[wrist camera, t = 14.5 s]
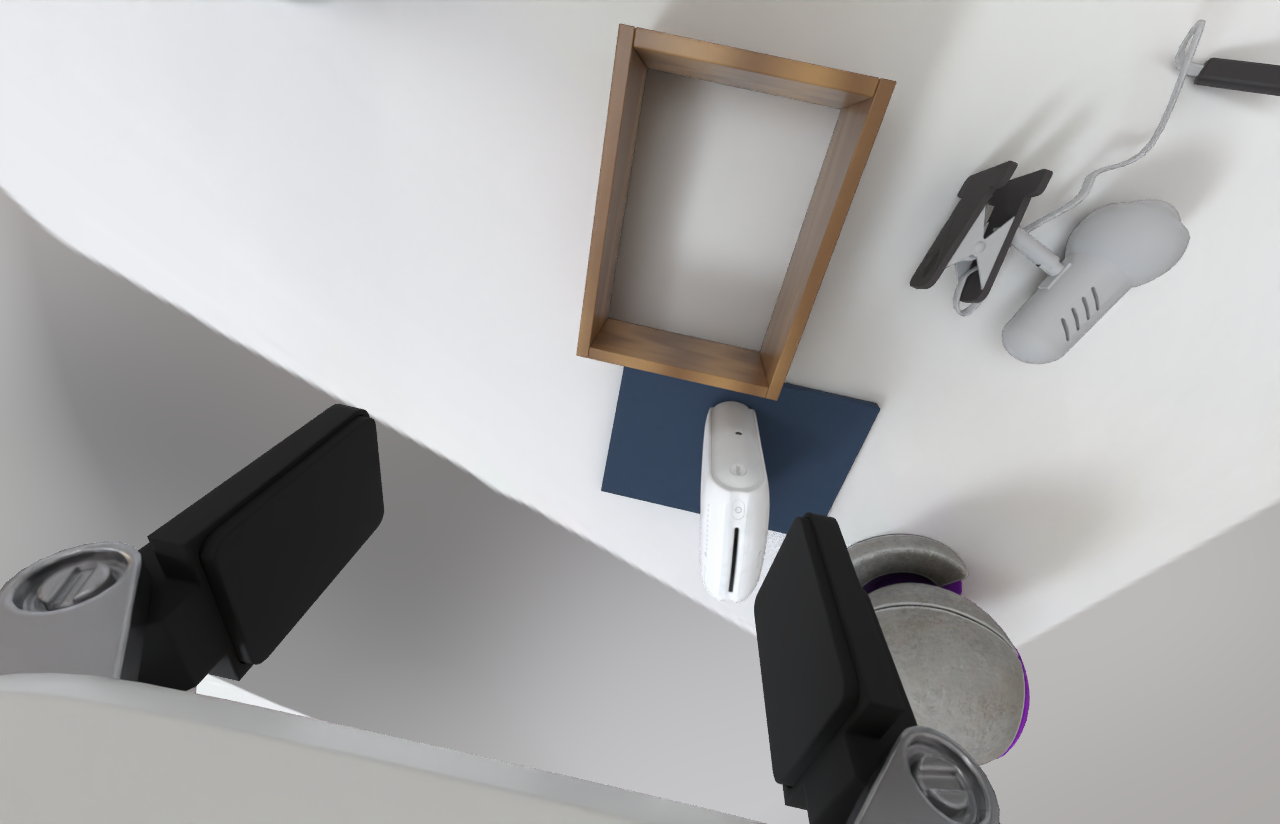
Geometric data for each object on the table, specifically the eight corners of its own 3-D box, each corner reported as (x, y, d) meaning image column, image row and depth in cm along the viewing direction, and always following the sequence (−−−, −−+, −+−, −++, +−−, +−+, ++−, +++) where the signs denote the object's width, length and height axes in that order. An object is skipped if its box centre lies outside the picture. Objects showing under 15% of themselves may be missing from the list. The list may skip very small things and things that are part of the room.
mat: (603, 484, 44) (600, 491, 44) (628, 347, 38) (626, 351, 37) (812, 533, 44) (814, 540, 43) (876, 403, 37) (881, 408, 36)
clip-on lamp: (1102, 7, 27) (884, 276, 32) (1224, -74, 21) (932, 273, 26) (1249, 133, 28) (1017, 376, 33) (1408, 89, 22) (1095, 396, 27)
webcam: (926, 640, 49) (1006, 819, 35) (802, 615, 49) (836, 781, 36) (990, 549, 42) (1116, 725, 29) (846, 521, 43) (907, 681, 30)
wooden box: (596, 325, 37) (576, 355, 31) (637, 49, 29) (619, 23, 23) (766, 363, 37) (777, 401, 31) (859, 96, 28) (897, 81, 23)
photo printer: (704, 397, 38) (702, 494, 27) (759, 399, 37) (780, 498, 26) (699, 500, 43) (696, 616, 32) (748, 503, 42) (761, 622, 31)
